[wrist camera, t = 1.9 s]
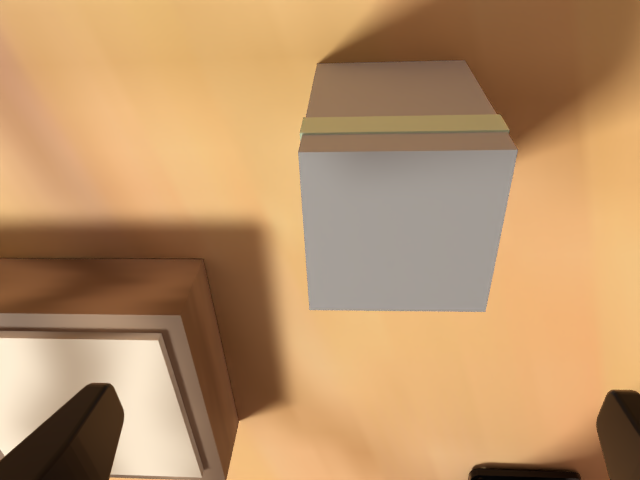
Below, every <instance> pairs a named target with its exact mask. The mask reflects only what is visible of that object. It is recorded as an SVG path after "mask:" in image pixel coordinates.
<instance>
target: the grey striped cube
mask: <svg viewBox="0 0 640 480" xmlns="http://www.w3.org/2000/svg"><path fill="white" fill-rule="evenodd" d="M509 131H510V130H509V128H508V126H507V125H506V123H505V121H504V120H503V118H502V116H501V115H500V114H496V112H495V110H494V109H493V107H492V105H491V104H490V102H489V100H488V99H487V97H486V95H485V93H484V92H483V90H482V88H481V87H480V85H479V83H478V82H477V80H476V78H475V77H474V75H473V73H472V72H471V70H470V68H469V66H468V65H467V63H466V61H465V60H444V61H402V62H360V63H319V64H317V67H316V71H315V76H314V81H313V86H312V90H311V95H310V100H309V104H308V109H307V114H306V117H304V118H303V121H302V126H301V130H300V141H301V142H300V147H299V151H298V155H299V169H300V183H301V197H302V211H303V225H304V239H305V253H306V267H307V281H308V295H309V309H310V310H364V311H458V312H485V311H486V306H487V301H488V296H489V291H490V286H491V281H492V276H493V271H494V266H495V261H496V256H497V251H498V246H499V241H500V236H501V231H502V226H503V221H504V216H505V211H506V206H507V201H508V196H509V191H510V187H511V182H512V177H513V172H514V167H515V162H516V157H517V152H518V149H517V147H516V146H515V144H514V142H513V141H512V139H511V137H510V136H509Z"/></svg>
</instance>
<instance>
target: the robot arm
mask: <svg viewBox="0 0 640 480" xmlns="http://www.w3.org/2000/svg"><path fill="white" fill-rule="evenodd" d="M123 423H124V409H123V407H122V404H121V402H120V400H119V398H118V395H117V393H116V391H115V388H114V387H113V385H111V384H110V383H90V384H88V385H86V386H85V387H83V388H82V389H81V390H80V391H79V392H78V393H77V394H75V395H74V396H73V397H72V398H71V399H70V400H69V401H67V402H66V403H65V404H64V405H63V406H62V407H61V408H59V409H58V410H57V411H56V412H55V413H54V414H53V415H51V416H50V417H49V418H48V419H47V420H46V421H44V422H43V423H42V424H41V425H40V426H39V427H38V428H36V429H35V430H34V431H33V432H32V433H31V434H30V435H28V436H27V437H26V438H25V439H24V440H23V441H22V442H20V443H19V444H18V445H17V446H16V447H15V448H14V449H12V450H11V451H10V452H9V453H8V454H7V455H5V456H4V457H3V458H2V459H1V460H0V480H109V478H110V474H111V470H112V466H113V462H114V458H115V454H116V451H117V447H118V443H119V439H120V435H121V431H122V427H123ZM596 427H597V433H598V437H599V440H600V444H601V448H602V452H603V456H604V459H605V463H606V467H607V471H608V474H609V478H610V480H640V394H639V393H638V392H636V391H633V390H611V391H609V392H608V393H607V395H606V397H605V400H604V402H603V405H602V407H601V409H600V412H599V414H598V417H597V422H596ZM468 480H581V477H580V475H579V474H578V473H576V472H558V471H528V470H497V469H474V470H472V471H470V473H469V477H468Z"/></svg>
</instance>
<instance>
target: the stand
mask: <svg viewBox="0 0 640 480" xmlns="http://www.w3.org/2000/svg"><path fill="white" fill-rule="evenodd" d="M90 383H110V384H111V385H113V387H114V388H115V391H116V393H117V395H118V398H119V400H120V402H121V404H122V407H123V409H124V423H123V427H122V431H121V435H120V439H119V443H118V447H117V451H116V454H115V458H114V462H113V466H112V470H111V474H110V477H117V478H145V479H173V480H226V479H227V474H228V469H229V465H230V460H231V456H232V451H233V446H234V442H235V437H236V432H237V428H238V423H239V421H238V416H237V412H236V407H235V402H234V398H233V393H232V389H231V384H230V380H229V375H228V370H227V366H226V361H225V357H224V352H223V348H222V343H221V338H220V334H219V329H218V325H217V320H216V315H215V311H214V306H213V302H212V297H211V293H210V288H209V283H208V279H207V274H206V270H205V265H204V261H203V259H10V258H0V460H1V459H2V458H3V457H4V456H5V455H7V454H8V453H9V452H10V451H11V450H12V449H14V448H15V447H16V446H17V445H18V444H19V443H20V442H22V441H23V440H24V439H25V438H26V437H27V436H28V435H30V434H31V433H32V432H33V431H34V430H35V429H36V428H38V427H39V426H40V425H41V424H42V423H43V422H44V421H46V420H47V419H48V418H49V417H50V416H51V415H53V414H54V413H55V412H56V411H57V410H58V409H59V408H61V407H62V406H63V405H64V404H65V403H66V402H67V401H69V400H70V399H71V398H72V397H73V396H74V395H75V394H77V393H78V392H79V391H80V390H81V389H82V388H83V387H85V386H86V385H88V384H90Z"/></svg>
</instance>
